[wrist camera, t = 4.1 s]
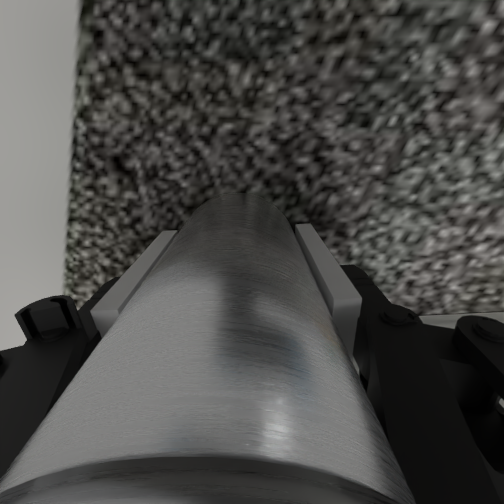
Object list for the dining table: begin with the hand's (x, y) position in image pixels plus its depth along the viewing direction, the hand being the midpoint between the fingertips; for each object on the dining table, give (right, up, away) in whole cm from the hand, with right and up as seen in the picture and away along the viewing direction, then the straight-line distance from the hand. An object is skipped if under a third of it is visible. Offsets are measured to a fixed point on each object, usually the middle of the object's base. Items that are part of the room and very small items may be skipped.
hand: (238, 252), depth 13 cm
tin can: (0, 0, 0) cm, 0 cm away
